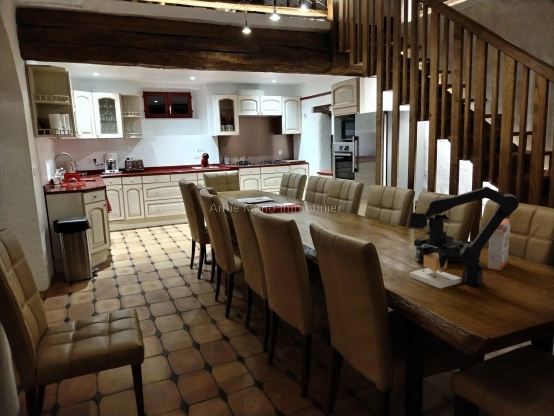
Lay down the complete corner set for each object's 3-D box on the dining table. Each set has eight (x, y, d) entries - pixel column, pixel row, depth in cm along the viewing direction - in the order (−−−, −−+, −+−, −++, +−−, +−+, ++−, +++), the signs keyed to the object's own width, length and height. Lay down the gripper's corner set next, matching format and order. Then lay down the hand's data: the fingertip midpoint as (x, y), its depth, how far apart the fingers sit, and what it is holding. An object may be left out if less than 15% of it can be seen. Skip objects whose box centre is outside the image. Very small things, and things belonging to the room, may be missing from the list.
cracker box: (502, 271, 169) (504, 224, 165) (486, 268, 173) (489, 223, 169) (508, 262, 179) (511, 218, 176) (494, 260, 183) (496, 217, 179)
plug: (446, 272, 160) (447, 256, 159) (435, 275, 157) (436, 259, 156) (434, 268, 166) (434, 252, 165) (423, 271, 163) (423, 255, 162)
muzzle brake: (480, 265, 178) (481, 243, 176) (416, 264, 183) (416, 242, 181) (473, 259, 187) (474, 238, 185) (413, 258, 192) (413, 237, 191)
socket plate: (461, 282, 158) (461, 277, 157) (440, 288, 153) (440, 283, 152) (429, 271, 172) (429, 266, 172) (409, 276, 167) (409, 271, 166)
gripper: (469, 230, 154) (468, 268, 157) (431, 223, 170) (431, 257, 173) (450, 234, 149) (449, 273, 152) (413, 226, 165) (412, 261, 168)
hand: (435, 265), depth 161 cm, fingers closed on plug, 6 cm apart
